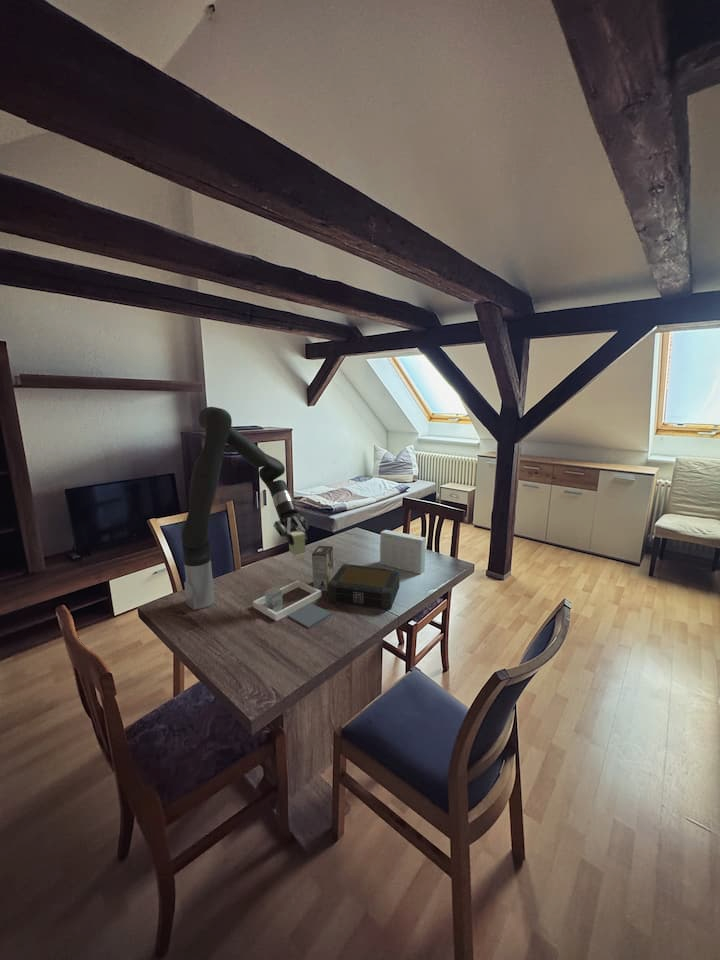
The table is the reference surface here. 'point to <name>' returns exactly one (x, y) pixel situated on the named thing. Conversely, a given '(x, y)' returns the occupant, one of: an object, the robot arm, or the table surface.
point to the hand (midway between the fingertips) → (299, 543)
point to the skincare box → (402, 551)
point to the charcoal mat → (309, 615)
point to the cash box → (364, 586)
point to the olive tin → (297, 542)
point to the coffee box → (322, 567)
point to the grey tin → (274, 599)
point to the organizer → (288, 610)
